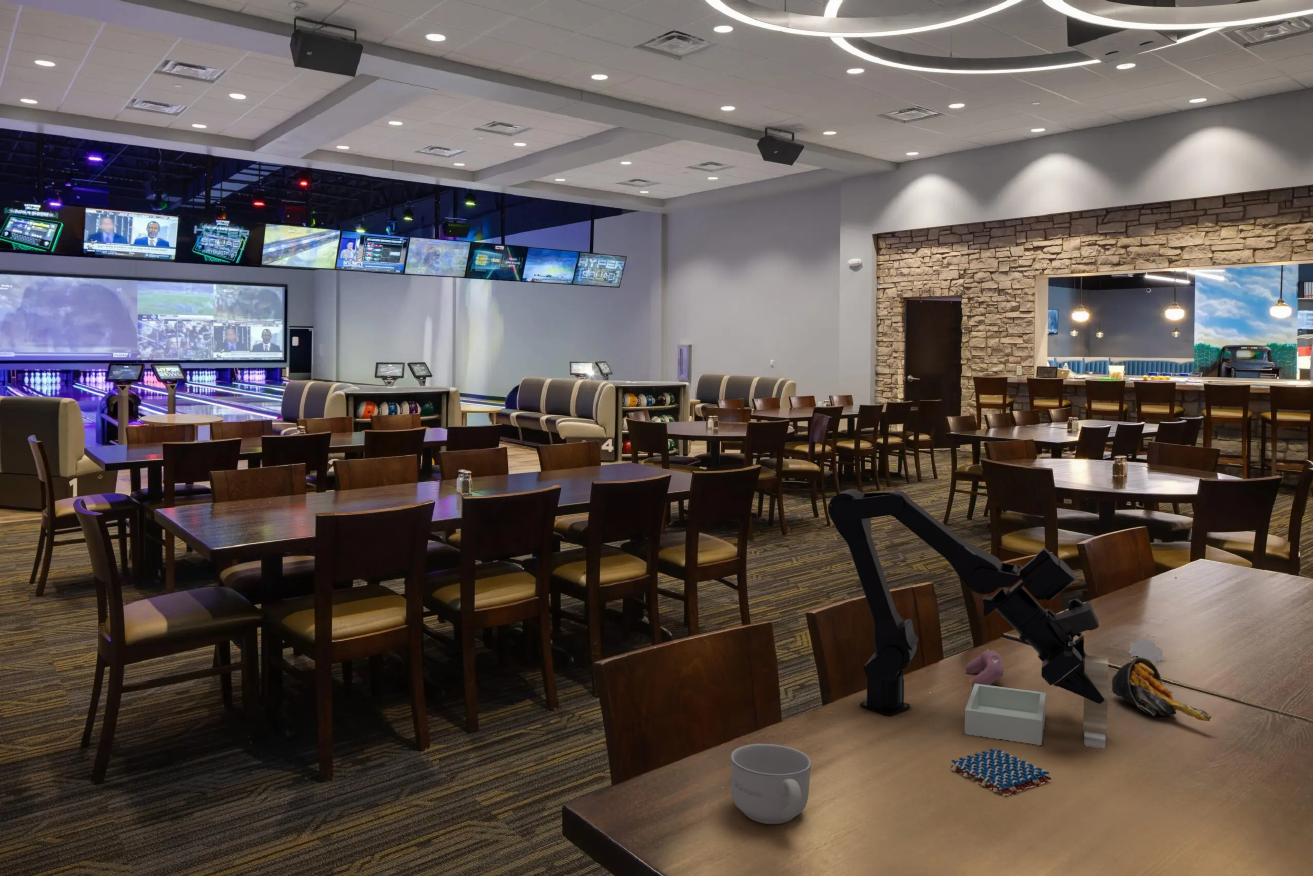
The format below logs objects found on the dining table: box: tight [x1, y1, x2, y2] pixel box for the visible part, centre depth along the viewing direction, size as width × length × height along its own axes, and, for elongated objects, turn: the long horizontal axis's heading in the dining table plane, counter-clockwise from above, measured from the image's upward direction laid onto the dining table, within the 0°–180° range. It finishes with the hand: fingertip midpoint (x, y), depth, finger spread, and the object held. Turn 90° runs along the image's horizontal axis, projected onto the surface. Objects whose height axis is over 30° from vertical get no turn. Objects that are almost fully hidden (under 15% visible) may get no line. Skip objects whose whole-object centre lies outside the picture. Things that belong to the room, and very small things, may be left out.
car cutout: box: [1128, 638, 1164, 664], centre depth 189 cm, size 15×7×4 cm, turn 42°
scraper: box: [1082, 654, 1109, 749], centre depth 147 cm, size 8×3×13 cm, turn 155°
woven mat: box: [950, 748, 1052, 795], centre depth 134 cm, size 10×11×2 cm
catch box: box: [964, 684, 1047, 745], centre depth 153 cm, size 14×12×4 cm
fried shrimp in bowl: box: [1111, 657, 1212, 722], centre depth 157 cm, size 9×11×18 cm
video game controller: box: [965, 648, 1005, 687], centre depth 174 cm, size 10×5×7 cm, turn 169°
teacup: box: [730, 743, 812, 825], centre depth 122 cm, size 14×11×8 cm
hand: (1101, 692), depth 146 cm, fingers open, 9 cm apart
